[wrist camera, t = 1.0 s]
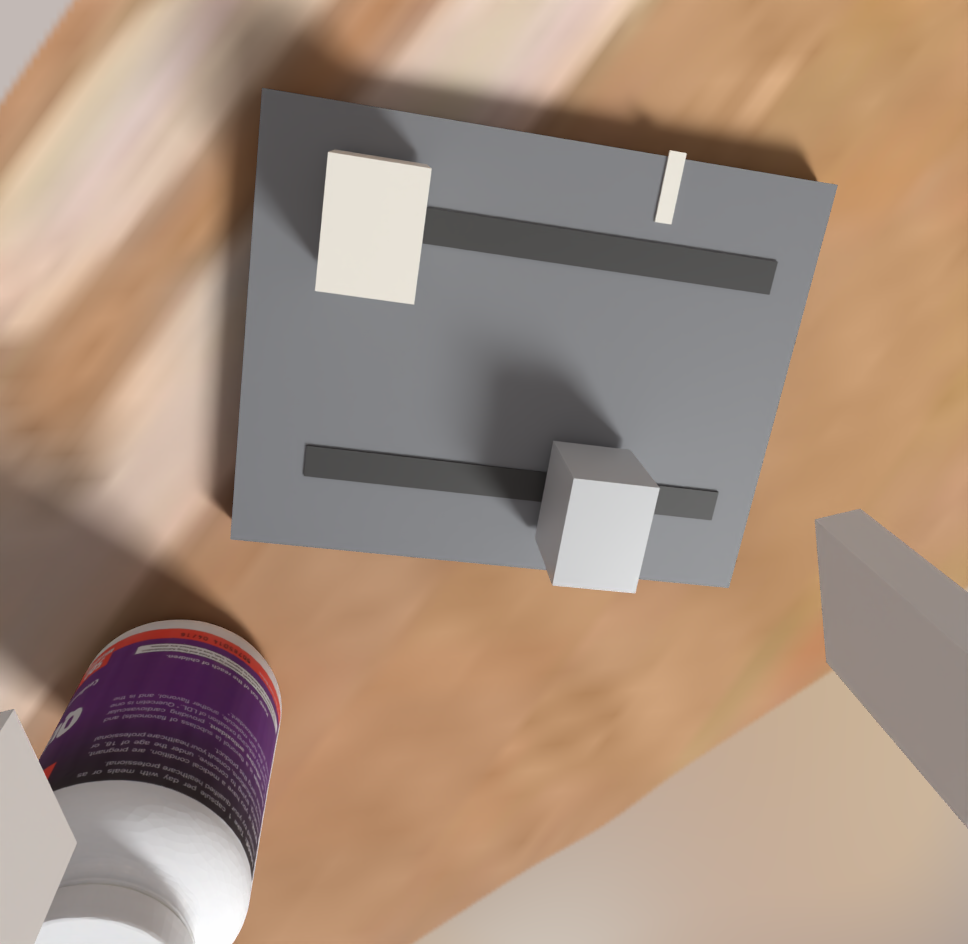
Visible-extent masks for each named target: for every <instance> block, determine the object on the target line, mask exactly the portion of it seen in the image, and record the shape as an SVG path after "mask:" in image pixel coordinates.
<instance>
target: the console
mask: <svg viewBox="0 0 968 944" xmlns="http://www.w3.org/2000/svg"><path fill="white" fill-rule="evenodd" d="M335 149H336V150H342V151H348V152H354V153H360V154H367V155H373V156H379V157H385V158H392V159H398V160H404V161H410V162H416V163H423V164H427V165H428V166H429V167H430V168H432V171H431V179H430V186H429V194H428V202H427V209H426V217H425V225H424V232H423V240H422V248H421V255H420V263H419V271H418V278H417V286H416V294H415V302H414V305H413V304H406V303H399V302H391V301H384V300H377V299H370V298H362V297H355V296H348V295H341V294H334V293H326V292H319V291H315V285H316V275H317V264H318V253H319V243H320V232H321V222H322V211H323V200H324V190H325V179H326V168H327V158H328V152H329V151H332V150H335ZM686 154H687V153H683V152H677V151H671V150H669V154H668V156H663V155H657V154H651V153H645V152H639V151H633V150H627V149H621V148H616V147H610V146H604V145H598V144H592V143H586V142H580V141H574V140H568V139H562V138H556V137H550V136H545V135H539V134H533V133H527V132H521V131H515V130H509V129H503V128H497V127H491V126H485V125H479V124H474V123H468V122H462V121H456V120H450V119H444V118H438V117H432V116H426V115H420V114H414V113H408V112H402V111H397V110H391V109H385V108H379V107H373V106H367V105H361V104H355V103H349V102H343V101H337V100H331V99H326V98H320V97H314V96H308V95H302V94H296V93H290V92H284V91H278V90H272V89H266V88H262V97H261V112H260V126H259V140H258V154H257V169H256V183H255V197H254V211H253V226H252V240H251V254H250V268H249V283H248V297H247V311H246V325H245V340H244V354H243V368H242V382H241V396H240V411H239V425H238V439H237V453H236V468H235V482H234V496H233V510H232V525H231V539H233V540H243V541H253V542H264V543H274V544H284V545H294V546H305V547H315V548H325V549H335V550H346V551H356V552H366V553H376V554H387V555H397V556H407V557H417V558H428V559H438V560H448V561H458V562H469V563H479V564H489V565H499V566H510V567H520V568H530V569H540V570H546V567H545V564H544V561H543V559H542V556H541V553H540V551H539V548H538V545H537V543H536V540H535V534H536V529H537V524H538V519H539V513H540V508H541V503H542V497H543V492H544V487H545V482H546V476H547V471H548V466H549V460H550V455H551V450H552V445H553V441H560V442H568V443H577V444H585V445H594V446H602V447H610V448H619V449H627V450H631V451H632V453H633V454H634V455H635V457H636V458H637V459H638V460H639V462H640V463H641V464H642V466H643V467H644V468H645V470H646V471H647V472H648V473H649V475H650V476H651V477H652V479H653V480H654V481H655V482H656V484H657V485H658V486H659V488H660V489H659V494H658V498H657V502H656V506H655V511H654V515H653V519H652V524H651V528H650V532H649V536H648V541H647V545H646V549H645V554H644V558H643V562H642V566H641V571H640V575H639V579H643V580H653V581H663V582H674V583H684V584H694V585H704V586H715V587H725V588H729V585H730V581H731V578H732V574H733V570H734V567H735V563H736V559H737V555H738V552H739V548H740V544H741V541H742V537H743V533H744V530H745V526H746V522H747V518H748V515H749V511H750V507H751V504H752V500H753V496H754V493H755V489H756V485H757V482H758V478H759V474H760V470H761V467H762V463H763V459H764V456H765V452H766V448H767V445H768V441H769V437H770V433H771V430H772V426H773V422H774V419H775V415H776V411H777V408H778V404H779V400H780V397H781V393H782V389H783V385H784V382H785V378H786V374H787V371H788V367H789V363H790V360H791V356H792V352H793V348H794V345H795V341H796V337H797V334H798V330H799V326H800V323H801V319H802V315H803V311H804V308H805V304H806V300H807V297H808V293H809V289H810V286H811V282H812V278H813V275H814V271H815V267H816V263H817V260H818V256H819V252H820V249H821V245H822V241H823V238H824V234H825V230H826V226H827V223H828V219H829V215H830V212H831V208H832V204H833V201H834V197H835V193H836V189H837V186H838V185H835V184H829V183H823V182H817V181H811V180H805V179H799V178H793V177H787V176H781V175H775V174H769V173H764V172H758V171H752V170H746V169H740V168H734V167H728V166H722V165H716V164H710V163H704V162H698V161H693V160H687V159H686Z"/></svg>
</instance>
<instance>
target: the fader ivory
mask: <svg viewBox="0 0 968 944" xmlns="http://www.w3.org/2000/svg"><path fill="white" fill-rule="evenodd" d="M431 171H432V168H430V167H429V166H428V165H427V164H423V163H416V162H410V161H404V160H398V159H392V158H385V157H379V156H373V155H367V154H360V153H354V152H348V151H342V150H336V149H335V150H332V151H329V152H328V158H327V168H326V179H325V190H324V200H323V211H322V222H321V232H320V243H319V253H318V264H317V275H316V285H315V291H319V292H326V293H334V294H341V295H348V296H355V297H362V298H370V299H377V300H384V301H391V302H399V303H406V304H413V305H414V302H415V294H416V286H417V278H418V271H419V263H420V255H421V248H422V240H423V232H424V225H425V217H426V209H427V202H428V194H429V186H430V179H431Z"/></svg>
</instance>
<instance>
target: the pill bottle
mask: <svg viewBox="0 0 968 944" xmlns="http://www.w3.org/2000/svg"><path fill="white" fill-rule="evenodd" d="M281 711H282V707H281V695H280V690H279V686H278V683H277V680H276V678H275V676H274V674H273V671H272V669H271V668H270V666H269V665H268V663H267V662H266V660H265V659H264V658H263V656H262V655H261V654H260V653H259V652H258V651H257V650H256V649H255V648H254V647H253V646H252V645H251V644H250V643H248V642H247V641H246V640H244V639H243V638H242V637H240V636H238V635H237V634H235V633H233V632H231V631H229V630H227V629H225V628H222V627H219V626H217V625H213V624H210V623H206V622H201V621H195V620H165V621H157V622H152V623H148V624H145V625H142V626H139V627H136V628H134V629H131V630H129V631H127V632H125V633H123V634H122V635H120V636H118V637H117V638H115V639H114V640H113V641H112V642H110V643H109V644H108V645H107V646H106V647H105V648H104V649H102V650H101V651H100V653H99V654H98V655H97V656H96V657H95V659H94V660H93V661H92V663H91V665H90V666H89V668H88V669H87V671H86V673H85V674H84V676H83V678H82V680H81V682H80V684H79V686H78V688H77V689H76V691H75V693H74V695H73V697H72V699H71V701H70V703H69V705H68V707H67V709H66V710H65V712H64V714H63V716H62V718H61V720H60V722H59V724H58V725H57V727H56V729H55V731H54V733H53V735H52V737H51V739H50V740H49V742H48V744H47V746H46V748H45V750H44V751H43V753H42V755H41V757H40V759H39V763H40V765H41V767H42V769H43V771H44V773H45V776H46V778H47V780H48V782H49V784H50V786H51V788H52V791H53V793H54V795H55V797H56V799H57V801H58V803H59V805H60V808H61V810H62V812H63V814H64V816H65V818H66V820H67V823H68V825H69V827H70V829H71V831H72V833H73V835H74V837H75V840H76V842H77V844H76V847H75V849H74V851H73V854H72V856H71V858H70V861H69V863H68V865H67V868H66V870H65V873H64V875H63V877H62V880H61V882H60V884H59V887H58V889H57V891H56V894H55V896H54V899H53V901H52V903H51V906H50V908H49V910H48V913H47V915H46V918H45V920H44V922H43V925H42V927H41V929H40V932H39V934H38V936H37V939H36V941H35V944H232V943H233V942H234V940H235V939H236V937H237V935H238V933H239V932H240V930H241V928H242V925H243V923H244V920H245V917H246V914H247V911H248V907H249V901H250V895H251V889H252V883H253V877H254V871H255V865H256V858H257V852H258V846H259V840H260V834H261V828H262V823H263V817H264V811H265V805H266V799H267V793H268V787H269V782H270V776H271V771H272V765H273V760H274V754H275V749H276V743H277V738H278V733H279V727H280V721H281Z"/></svg>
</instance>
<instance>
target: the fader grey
mask: <svg viewBox="0 0 968 944" xmlns="http://www.w3.org/2000/svg"><path fill="white" fill-rule="evenodd" d="M659 489H660V488H659V486H658V485H657V484H656V482H655V481H654V480H653V479H652V477H651V476H650V475H649V473H648V472H647V471H646V470H645V468H644V467H643V466H642V464H641V463H640V462H639V460H638V459H637V458H636V457H635V455H634V454H633V453H632V451H631V450H627V449H619V448H610V447H602V446H594V445H585V444H577V443H568V442H560V441H553V445H552V450H551V455H550V460H549V466H548V471H547V476H546V482H545V487H544V492H543V497H542V503H541V508H540V513H539V519H538V524H537V529H536V534H535V540H536V543H537V545H538V548H539V551H540V553H541V556H542V559H543V561H544V564H545V567H546V570H547V572H548V575H549V578H550V580H551V583H552V585H554V586H564V587H575V588H585V589H596V590H606V591H617V592H627V593H635V592H636V588H637V583H638V579H639V575H640V571H641V566H642V562H643V558H644V554H645V549H646V545H647V541H648V536H649V532H650V528H651V524H652V519H653V515H654V511H655V506H656V502H657V498H658V494H659Z"/></svg>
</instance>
